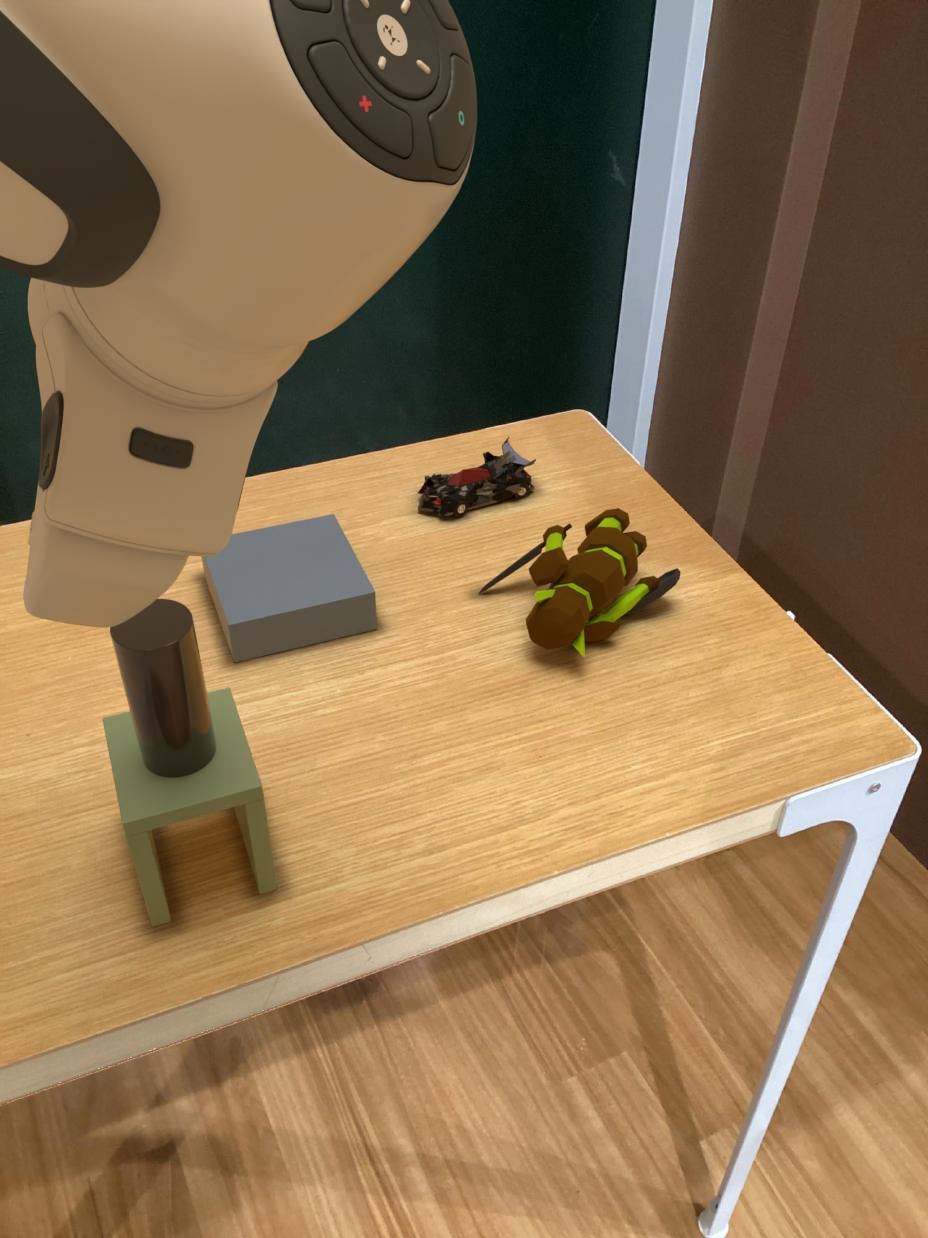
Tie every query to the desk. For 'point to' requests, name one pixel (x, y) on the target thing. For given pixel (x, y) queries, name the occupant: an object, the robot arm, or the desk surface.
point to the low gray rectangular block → (289, 588)
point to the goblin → (587, 583)
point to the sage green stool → (189, 798)
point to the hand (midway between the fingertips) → (60, 438)
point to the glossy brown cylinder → (165, 688)
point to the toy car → (477, 484)
